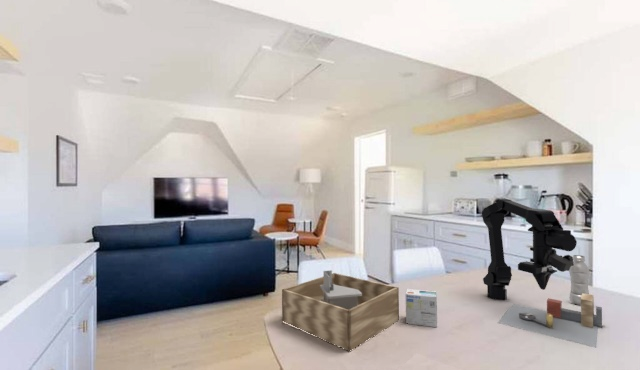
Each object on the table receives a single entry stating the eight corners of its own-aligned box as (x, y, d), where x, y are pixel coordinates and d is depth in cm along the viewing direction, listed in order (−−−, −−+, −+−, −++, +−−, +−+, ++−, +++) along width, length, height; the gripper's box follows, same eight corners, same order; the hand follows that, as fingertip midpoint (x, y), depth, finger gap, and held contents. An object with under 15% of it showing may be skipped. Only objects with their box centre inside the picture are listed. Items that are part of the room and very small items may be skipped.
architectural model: (316, 343, 99) (315, 286, 100) (303, 313, 123) (303, 267, 123) (383, 335, 104) (382, 280, 105) (359, 308, 128) (358, 264, 128)
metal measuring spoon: (547, 329, 104) (547, 316, 104) (515, 316, 115) (515, 304, 115) (557, 327, 106) (557, 314, 106) (525, 314, 116) (525, 302, 117)
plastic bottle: (594, 308, 123) (593, 258, 124) (575, 307, 125) (574, 257, 125) (584, 303, 130) (583, 254, 130) (565, 302, 131) (564, 254, 131)
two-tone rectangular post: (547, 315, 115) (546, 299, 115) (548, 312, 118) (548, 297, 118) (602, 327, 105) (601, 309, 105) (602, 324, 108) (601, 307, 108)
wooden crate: (282, 322, 114) (281, 289, 114) (334, 300, 135) (334, 272, 136) (349, 351, 93) (349, 311, 93) (398, 320, 115) (398, 287, 115)
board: (497, 325, 110) (497, 322, 110) (513, 305, 128) (513, 303, 128) (596, 350, 92) (596, 347, 92) (598, 323, 110) (598, 321, 110)
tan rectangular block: (581, 325, 107) (580, 299, 107) (582, 318, 113) (582, 293, 113) (593, 328, 105) (592, 301, 105) (593, 320, 111) (593, 295, 111)
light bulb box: (437, 320, 115) (436, 290, 115) (437, 328, 108) (437, 296, 108) (406, 316, 118) (406, 287, 118) (405, 324, 112) (405, 293, 112)
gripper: (550, 252, 101) (550, 300, 101) (584, 247, 108) (584, 292, 108) (516, 246, 111) (517, 290, 111) (549, 242, 119) (549, 283, 119)
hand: (542, 289), depth 112 cm, fingers closed
